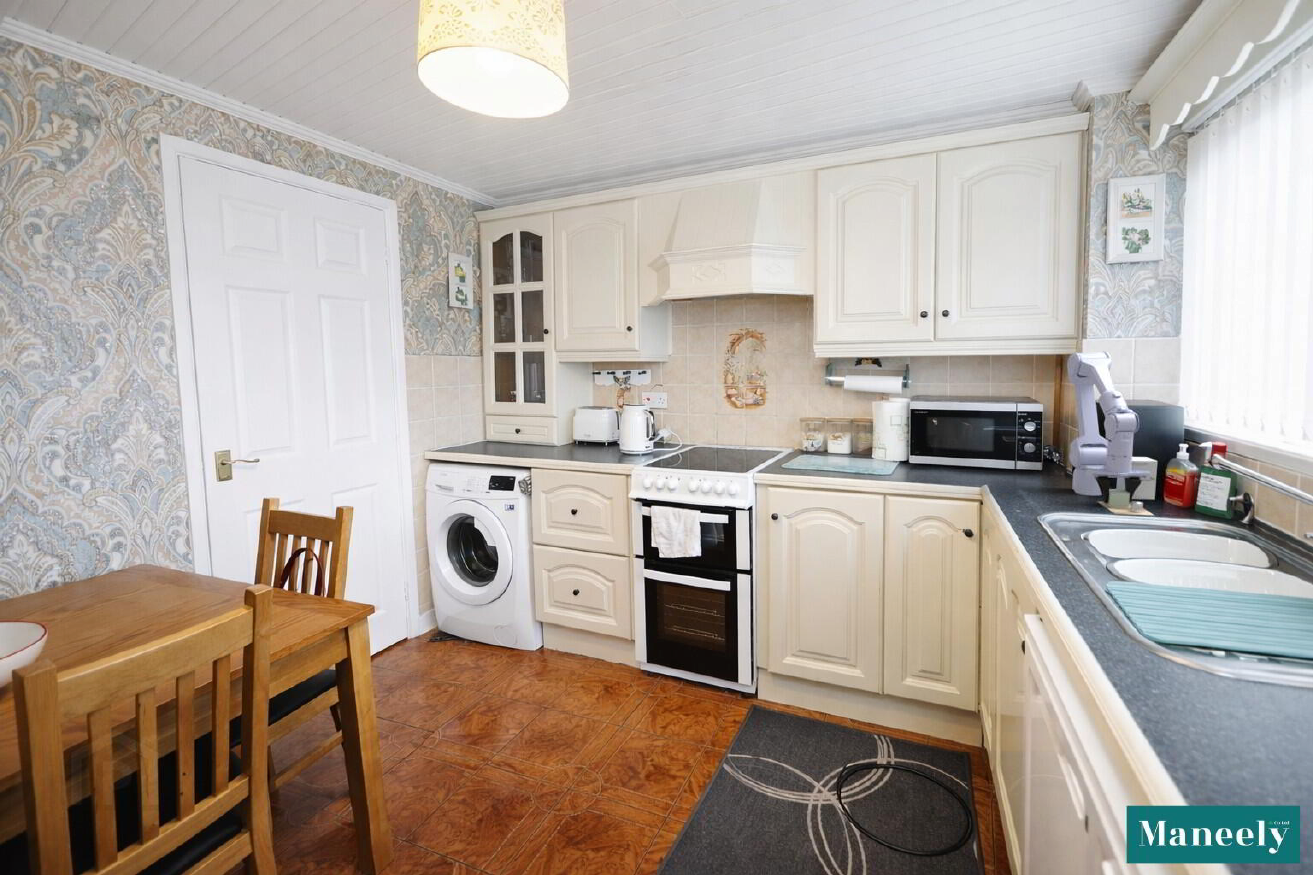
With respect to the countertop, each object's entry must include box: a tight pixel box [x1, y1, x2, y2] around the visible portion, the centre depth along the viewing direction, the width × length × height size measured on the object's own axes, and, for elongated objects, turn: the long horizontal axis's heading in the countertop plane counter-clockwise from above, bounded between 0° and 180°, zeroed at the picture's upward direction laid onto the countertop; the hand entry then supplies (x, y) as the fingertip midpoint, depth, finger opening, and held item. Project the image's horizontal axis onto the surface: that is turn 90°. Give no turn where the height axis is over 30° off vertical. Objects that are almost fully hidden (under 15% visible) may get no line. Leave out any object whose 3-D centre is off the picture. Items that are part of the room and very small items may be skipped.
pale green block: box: [1105, 488, 1130, 507], centre depth 180 cm, size 5×5×4 cm
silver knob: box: [1130, 500, 1144, 513], centre depth 172 cm, size 3×3×4 cm
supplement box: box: [1116, 456, 1158, 500], centre depth 188 cm, size 7×7×13 cm
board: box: [1097, 501, 1156, 517], centre depth 176 cm, size 14×9×1 cm, turn 162°
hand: (1116, 502), depth 180 cm, fingers closed on pale green block, 5 cm apart
